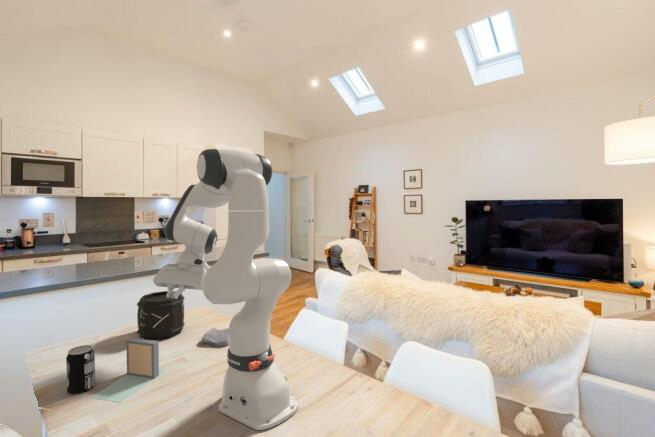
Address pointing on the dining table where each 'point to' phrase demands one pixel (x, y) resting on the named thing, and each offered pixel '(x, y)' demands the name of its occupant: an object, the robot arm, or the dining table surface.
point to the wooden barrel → (160, 316)
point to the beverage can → (80, 369)
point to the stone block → (216, 337)
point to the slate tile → (142, 358)
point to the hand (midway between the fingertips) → (171, 297)
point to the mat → (123, 388)
